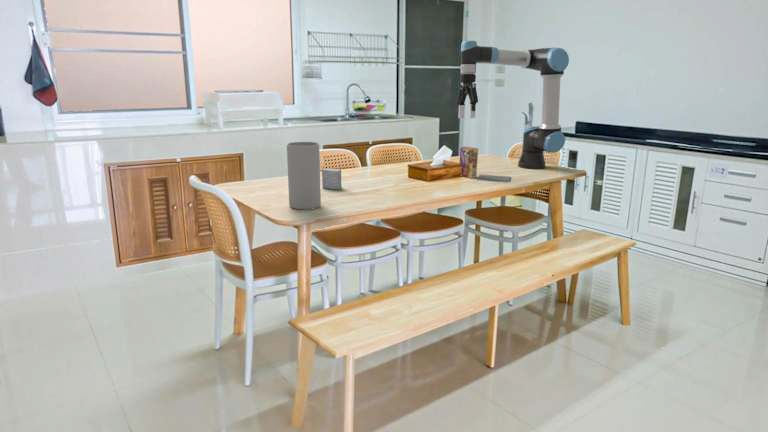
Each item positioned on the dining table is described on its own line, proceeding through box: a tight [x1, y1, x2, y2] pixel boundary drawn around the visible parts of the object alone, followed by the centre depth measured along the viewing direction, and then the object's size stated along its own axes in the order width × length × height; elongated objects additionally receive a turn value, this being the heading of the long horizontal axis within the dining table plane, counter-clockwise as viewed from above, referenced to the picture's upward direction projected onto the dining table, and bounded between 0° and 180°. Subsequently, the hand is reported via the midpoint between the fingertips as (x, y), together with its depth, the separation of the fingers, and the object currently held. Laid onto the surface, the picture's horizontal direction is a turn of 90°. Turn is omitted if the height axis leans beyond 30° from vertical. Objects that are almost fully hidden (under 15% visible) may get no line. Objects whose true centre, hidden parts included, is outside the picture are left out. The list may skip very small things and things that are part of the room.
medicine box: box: [321, 168, 342, 190], centre depth 240 cm, size 8×4×9 cm, turn 71°
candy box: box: [459, 145, 479, 179], centre depth 268 cm, size 9×4×15 cm, turn 39°
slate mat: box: [476, 174, 512, 183], centre depth 266 cm, size 16×12×1 cm
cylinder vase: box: [286, 141, 322, 210], centre depth 206 cm, size 12×12×25 cm
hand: (466, 118), depth 259 cm, fingers open, 13 cm apart
